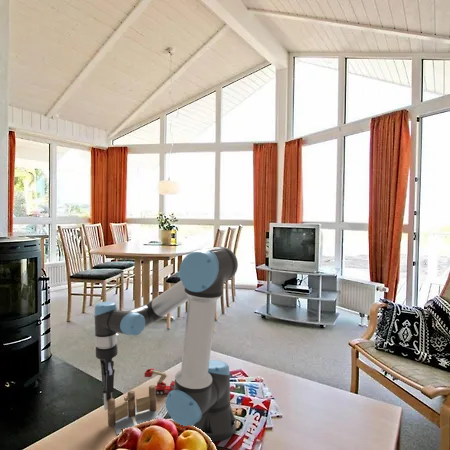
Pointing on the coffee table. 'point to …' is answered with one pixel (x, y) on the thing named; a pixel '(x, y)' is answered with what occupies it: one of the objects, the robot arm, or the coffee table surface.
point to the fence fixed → (143, 402)
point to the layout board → (134, 419)
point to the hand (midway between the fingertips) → (108, 408)
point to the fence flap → (118, 408)
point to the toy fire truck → (160, 382)
